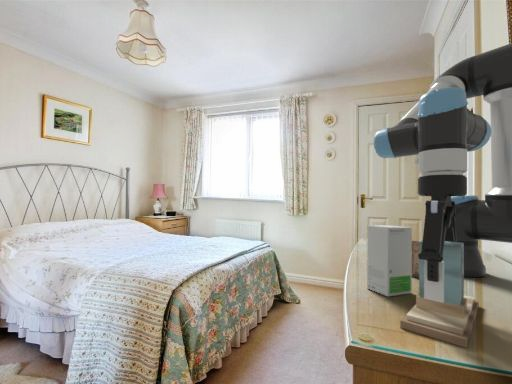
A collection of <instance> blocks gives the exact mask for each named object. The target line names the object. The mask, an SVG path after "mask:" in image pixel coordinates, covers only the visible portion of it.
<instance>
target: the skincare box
mask: <svg viewBox="0 0 512 384" xmlns="http://www.w3.org/2000/svg"><path fill="white" fill-rule="evenodd" d="M412 228H413V227H412V226H400V225H391V224H390V225H385V224H383V225H380V224H368V225H367V256H366V257H367V263H366V264H367V269H366V270H367V271H366V272H367V274H366V276H367V277H366V289H367V290H369V289H370V290H369V291H371V290H372V292H374V291H375V292H374V293H376V292H377V294H379V293H380V295H382V296H384V297H385V296H386V297H394V296H401V295H408V294H412V293H413V292H412V290H413V288H412V287H413V285H412V283H413V282H412V278H413V276H412V241H413V240H412V239H413V238H412V236H413V235H412V234H413V233H412V232H413V231H412Z"/></svg>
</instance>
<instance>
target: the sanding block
mask: <svg viewBox="0 0 512 384" xmlns="http://www.w3.org/2000/svg"><path fill="white" fill-rule="evenodd" d="M422 241H423V240H421V241H419V254H421V250H422ZM442 261H444V303H442V302H437V301H433V300H428V299H424V260H422V259H419V277H418V280H419V281H418V282H419V283H418V285H419V286H418V289H419V292H418V294H417V295H415V304H416V307H418V308H422V309H426V310H430V311H434V312H438V313H442V314H446V315H450V316H454V317H458V318H462V319H464V316H465V314H466V311H467V298H464V296H465V290H464V289H465V284H464V282H465V278H464V243H460V242H449V241H445V243H444V250H443V260H442Z"/></svg>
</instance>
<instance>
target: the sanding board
mask: <svg viewBox="0 0 512 384" xmlns="http://www.w3.org/2000/svg"><path fill="white" fill-rule="evenodd" d="M464 298H467V311H466V314H465V316H464V319H462V318H458V317H454V316H450V315H446V314H442V313H438V312H434V311H430V310H426V309H422V308H418V307H416V303H415V304H414V305H413V306H412V307H411V308H410V309H409V311H408V312H406V314H405V315H404V316H403V317H402V318H401V319H400V321H399V322H400V323H399V324H400V326H399V327H400V329H404V330H406V331H409V332H410V331H411V332H413V333H416V334H420V335H422V336H423V335H424V336H427V337H430V338H434V339H435V340H440V341H443V342H447V343H450V344H453V345H457V346H459V347H462V348H466V349H467V348H468V344H469V341H470V337H471V334H472V331H473V328H474V324H475V321H476V317H477V314H478V310H479V307H480V302H479V300H477V299H475V297H473V296H469V295H464Z"/></svg>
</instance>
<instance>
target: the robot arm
mask: <svg viewBox="0 0 512 384" xmlns="http://www.w3.org/2000/svg"><path fill="white" fill-rule="evenodd" d="M481 96H483V98H482V99H483V101H484V102H486V103H488V104H489V105H490V123H489V122H488V121H487V120H486V119H485V118H484V117H483V116H482V115H480V114H476V113H474V112H472V111H470V110H468V104H469V102H468V101H467V100H468V99H472V98H476V97H481ZM489 140H490V150H491V151H490V155H491V157H490V159H491V164H490V165H491V166H490V167H491V188H490V189H489V190H488V191H487V192H486V193H485V194H484V200H482V199H480V198H479V196H477V195H475V194H473V195H472V194H471V195H467V194H468V177H467V176H466V175H464V173H466V172H467V171H468V152H474V151H478V150H480V149H481V148H483V147H484V146H485V145H487V143H488V142H489ZM373 147H374V150H375V153H376V154H377V156H378V157H380V158H383V159H391V158H392V159H397V158H403V157H410V156H418V158H416V159H415V160H414V163H415V164H417V167H418V168H417V170H418V174H420V175H421V176H419V177H418V178H417V194H418V196H419V197H430V198H431V199H430V200H426V201H425V203H424V204H425V205H424V206H425V216H424V223H423V226H424V227H423V234H422V240H421V241H422V250H421V254H419V255H418V257H419V259H422V260H424V299H428V300H433V301H437V302H442V303H444V261H442V260H443V250H444V243H445V241H449V242H460V243H464V277H466V278H483V277H486V276H487V267H486V266H485V264H484V261H483V257H482V254H481V252H480V248H479V241H480V240H481V241H489V242H500V243H509V244H512V42H511V43H508V44H505V45H502V46H499V47H497V48H494V49H491V50H488V51H485V52H482V53H479V54H477V55H473V56H469V57H467V58H464V59H463V60H461V61H459V62H457V63H456V64H454V65H453V66H451V67H449V68H448V69H447V70H446V71H443V72H442V73H441V74H440V75H438V77H437V78H435V79H434V80H433V82H432V83H431V84H430V85H429V88H428V90H427V92H426V93H424V94H422V96H421V97H420V98H419V100H418V102H416V103H415V104H414V105H413V107H411V109H409V111H408V112H406V113H405V115H404V116H403V117H402V118H401V119H400V120H399V121H397V123H395V124H394V125H393V126H392V127H386V128H383V129H380V130H378V131H377V132H376V133H375V135H374V137H373Z"/></svg>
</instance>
